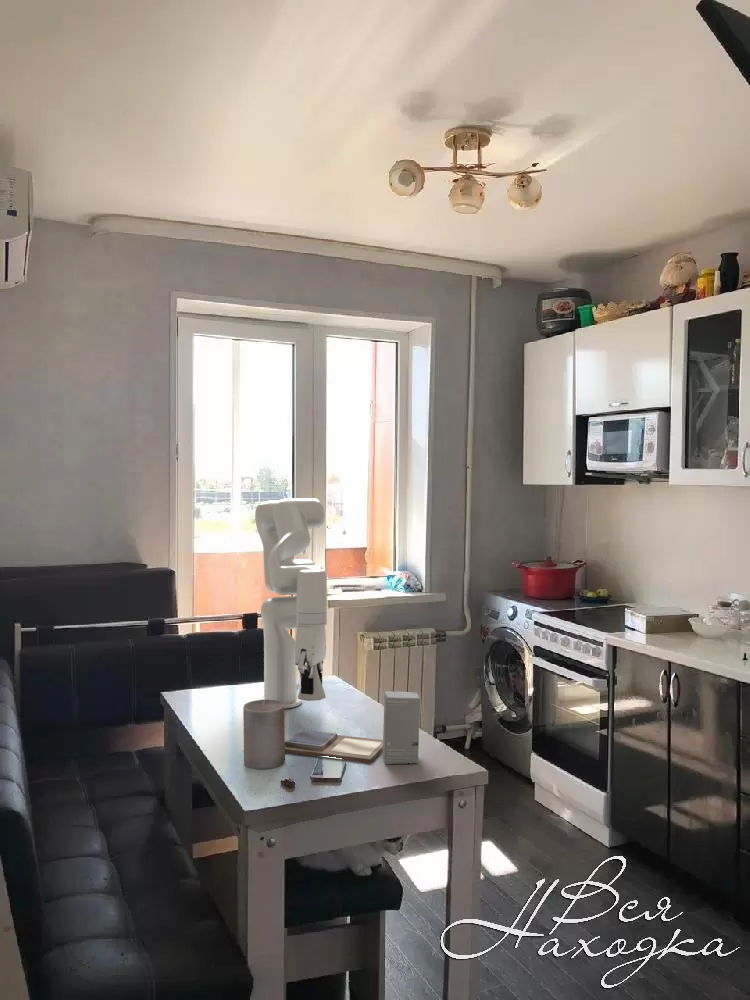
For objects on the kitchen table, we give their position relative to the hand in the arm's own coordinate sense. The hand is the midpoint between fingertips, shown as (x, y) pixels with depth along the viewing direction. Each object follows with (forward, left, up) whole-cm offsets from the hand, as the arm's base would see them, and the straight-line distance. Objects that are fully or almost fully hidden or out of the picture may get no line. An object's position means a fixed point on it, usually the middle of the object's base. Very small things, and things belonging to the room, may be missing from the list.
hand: (311, 690), depth 203 cm
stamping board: (0, +6, -14) cm, 15 cm away
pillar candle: (+14, -6, -14) cm, 21 cm away
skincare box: (+2, +24, -14) cm, 28 cm away
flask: (0, 0, -2) cm, 2 cm away
